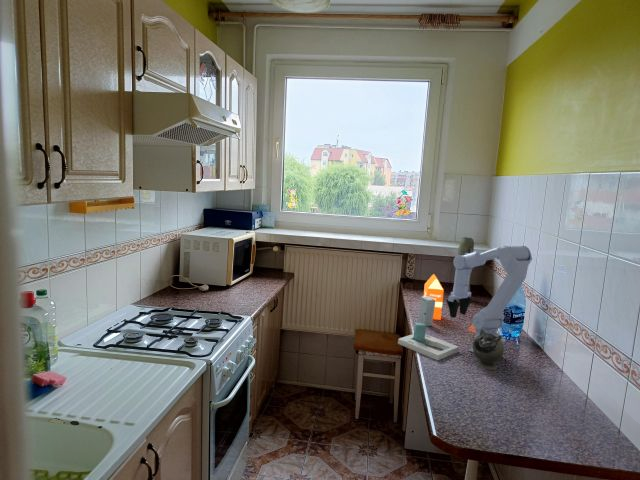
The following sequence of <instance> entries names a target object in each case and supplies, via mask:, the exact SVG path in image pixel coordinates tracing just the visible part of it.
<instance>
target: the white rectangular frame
mask: <svg viewBox="0 0 640 480" xmlns="http://www.w3.org/2000/svg"><path fill="white" fill-rule="evenodd" d="M413 337H414V333H412V334H409V335H405V336H403V337H400V338H398V341H397V344H398V345H400V346H403V347H405V348H407V349H410V350H412V351H414V352H417V353H418V354H421V355H424V356H425V357H428V358H431V359H434V360H436V361H439V360H442V359H445V358H448V357H450V356H452V355H454V354H457V353H458V352H459V351H460V350H459V348H460V346H457V345H455V344H452V343H449V342H447V341H445V340H442V339H439V338H437V337H434V336H431V335H429V334H426V333H425V342H424V344H422V343H420V342H417V341H415V340H413ZM427 345H429V346H427ZM432 347H435V348H437V349H440V351H439V350H437V349H434V348H432Z"/></svg>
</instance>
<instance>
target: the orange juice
mask: <svg viewBox="0 0 640 480" xmlns="http://www.w3.org/2000/svg"><path fill="white" fill-rule="evenodd" d="M444 290H445V289H444V288H443V287H442V284H441V283H440V281H439V279H438V278H437V276H436V274H434V273H433V274H432V275H431V276H430V277H429V279H428V280H427V281H426V282H425V283H424V289H423V296H429V297H431V298H433V299H434V300H436V301H435V308H434V315H433V320H440V321H441V318H442V309H443V301H444V300H443V299H444V293H445V291H444Z"/></svg>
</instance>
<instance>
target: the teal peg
mask: <svg viewBox="0 0 640 480" xmlns="http://www.w3.org/2000/svg"><path fill="white" fill-rule="evenodd" d="M426 332H427V326H426V324H423V323H419V322H414V329H413V334H414V337H413V340H415V341H417V342H420V343H422V344H425V343H424V342H425V334H426Z"/></svg>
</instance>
